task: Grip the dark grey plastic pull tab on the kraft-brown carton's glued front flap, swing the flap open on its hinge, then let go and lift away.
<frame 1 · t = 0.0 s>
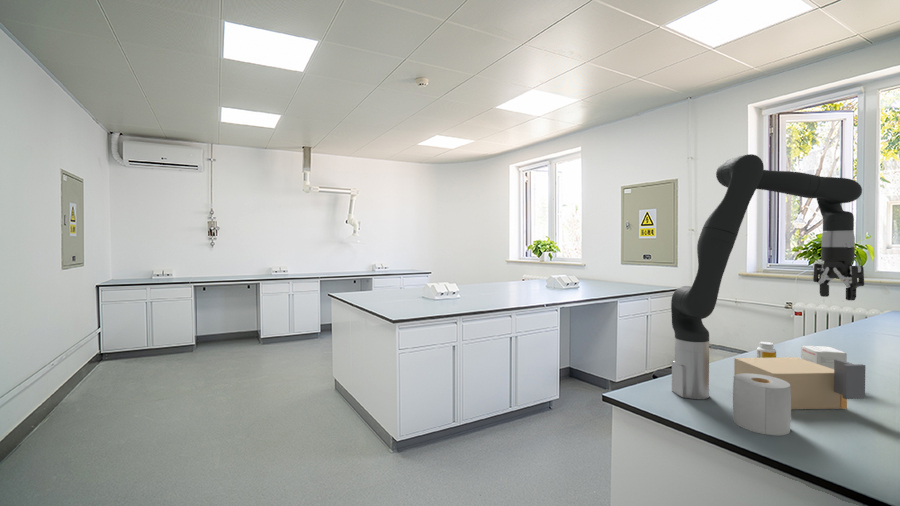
hand: (837, 298, 129), 29 cm above the lab bench, fingers open, 8 cm apart
carton: (785, 398, 125), on the lab bench
carton flap: (819, 387, 114), point 7 cm above the lab bench, hinge at 0.0°
ink box: (822, 384, 137), on the lab bench
supplement bottle: (766, 371, 151), on the lab bench
toilet paper roll: (760, 426, 107), on the lab bench
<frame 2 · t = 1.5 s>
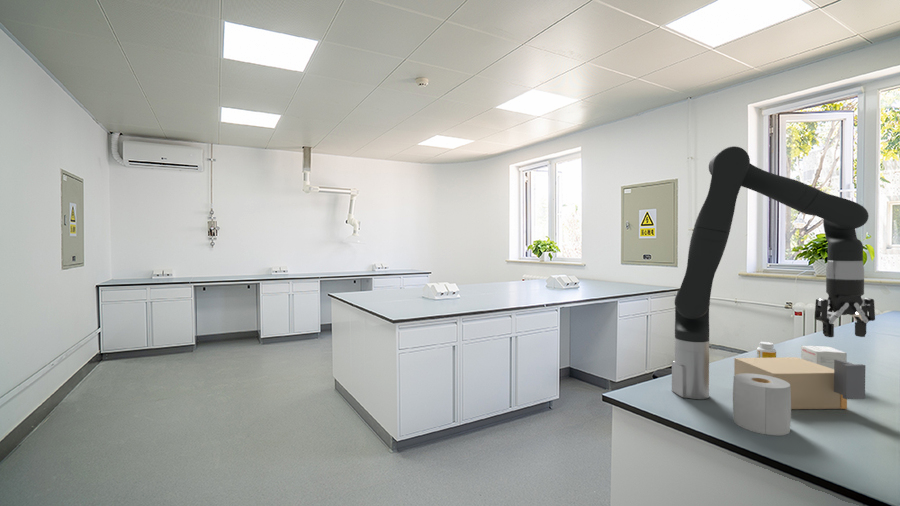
hand: (844, 336, 114), 21 cm above the lab bench, fingers open, 8 cm apart
nothing on the lab bench moved.
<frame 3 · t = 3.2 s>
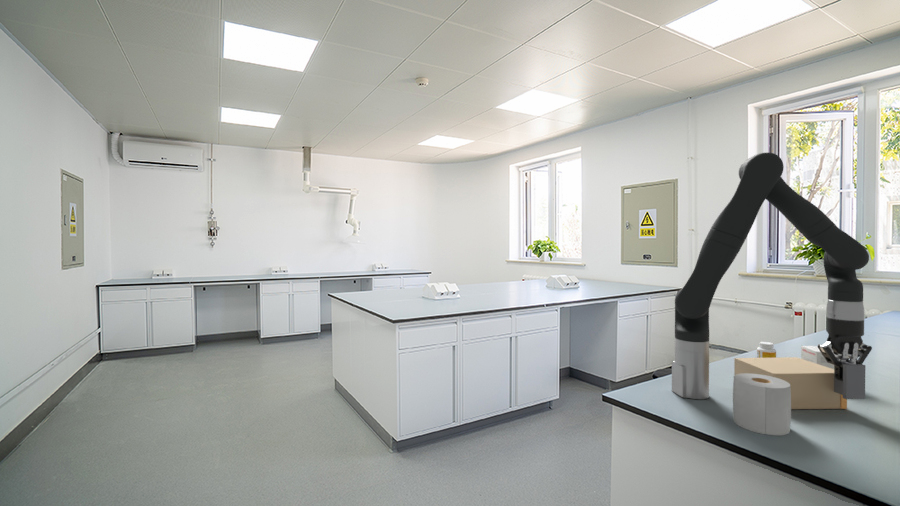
hand: (844, 379, 114), 9 cm above the lab bench, fingers closed
carton flap: (819, 387, 114), point 7 cm above the lab bench, hinge at 0.0°, touching gripper
everything else where it was.
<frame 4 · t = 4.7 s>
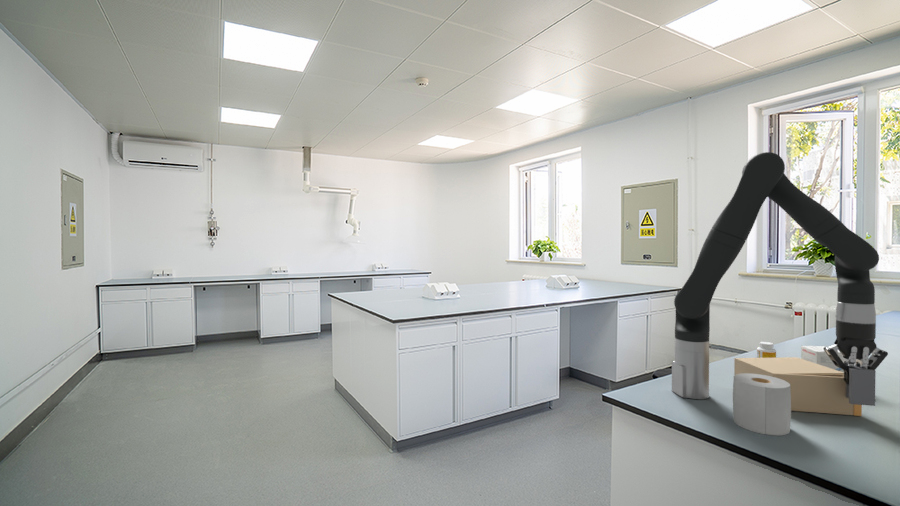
hand: (854, 385, 110), 9 cm above the lab bench, fingers closed
carton flap: (823, 390, 112), point 7 cm above the lab bench, hinge at 14.2°, touching gripper
everything else where it was.
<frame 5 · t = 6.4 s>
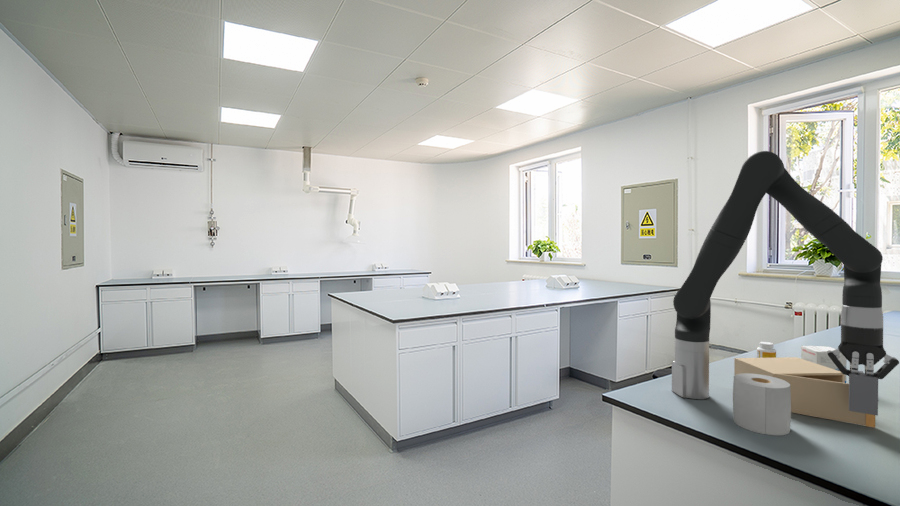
hand: (861, 392, 104), 9 cm above the lab bench, fingers closed
carton flap: (823, 394, 109), point 7 cm above the lab bench, hinge at 36.9°, touching gripper
everything else where it was.
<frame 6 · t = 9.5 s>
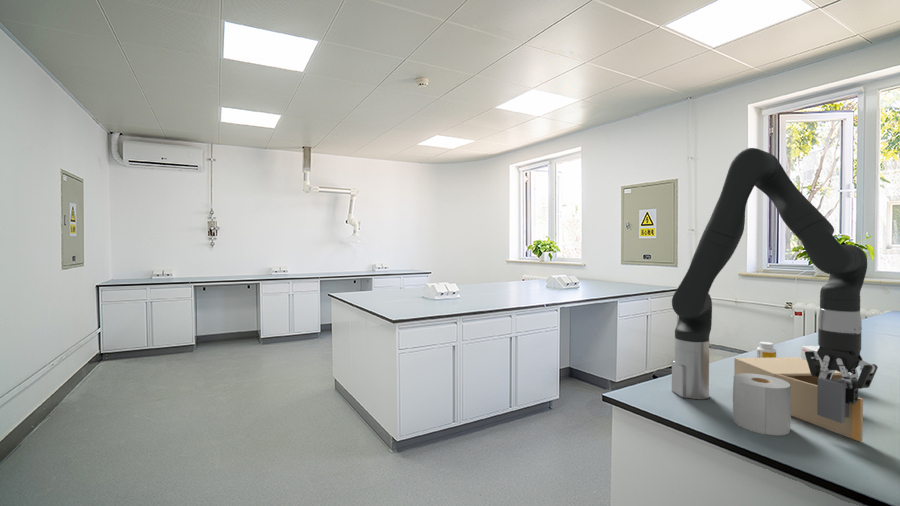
hand: (838, 399, 100), 9 cm above the lab bench, fingers open, 4 cm apart
carton flap: (806, 398, 106), point 7 cm above the lab bench, hinge at 74.4°
everything else where it was.
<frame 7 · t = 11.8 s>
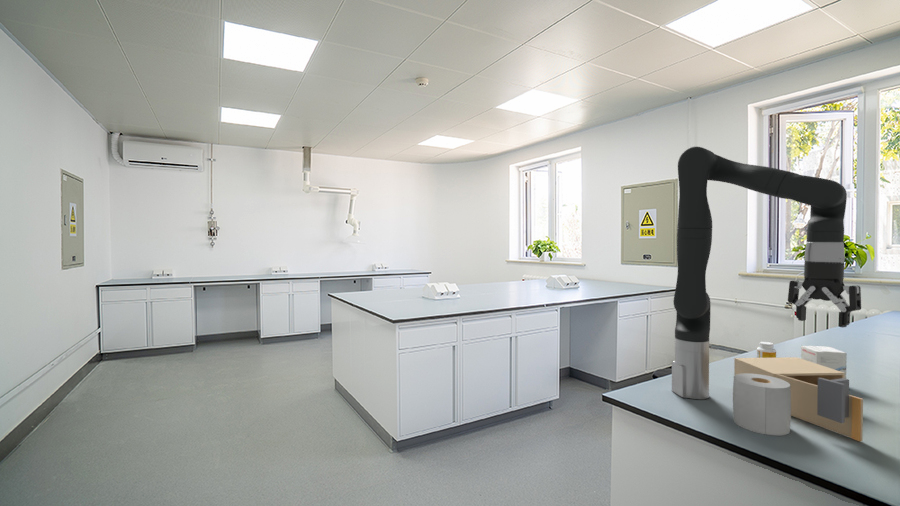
hand: (821, 323, 106), 26 cm above the lab bench, fingers open, 8 cm apart
nothing on the lab bench moved.
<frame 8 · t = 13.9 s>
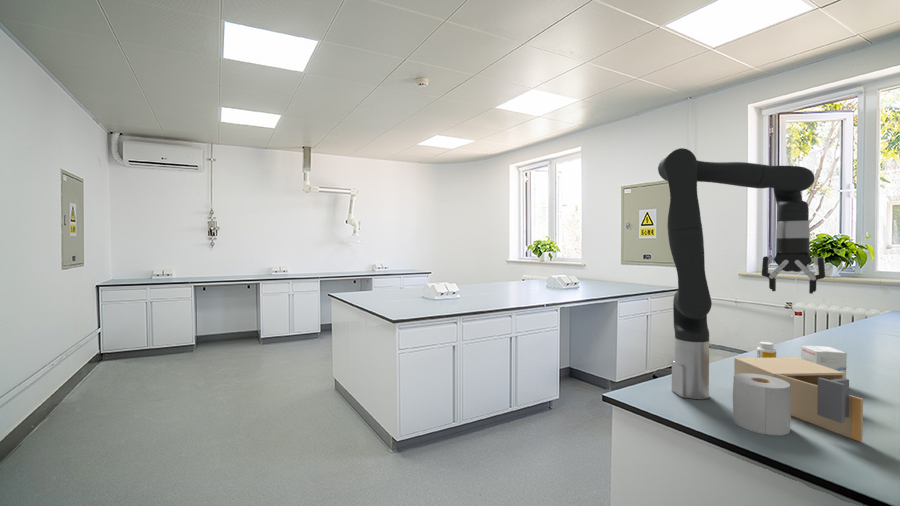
hand: (792, 292, 123), 32 cm above the lab bench, fingers open, 8 cm apart
nothing on the lab bench moved.
at the end: carton flap at +74° (first picture: +0°); the gripper is holding nothing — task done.
